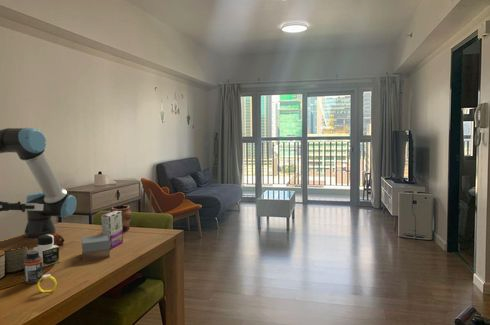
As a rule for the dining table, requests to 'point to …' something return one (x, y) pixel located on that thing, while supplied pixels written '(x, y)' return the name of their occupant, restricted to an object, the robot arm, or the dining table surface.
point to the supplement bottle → (33, 267)
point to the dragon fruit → (57, 239)
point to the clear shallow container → (96, 254)
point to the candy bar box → (113, 228)
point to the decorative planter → (124, 215)
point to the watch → (46, 278)
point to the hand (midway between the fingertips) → (40, 206)
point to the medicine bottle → (47, 250)
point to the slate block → (95, 243)
